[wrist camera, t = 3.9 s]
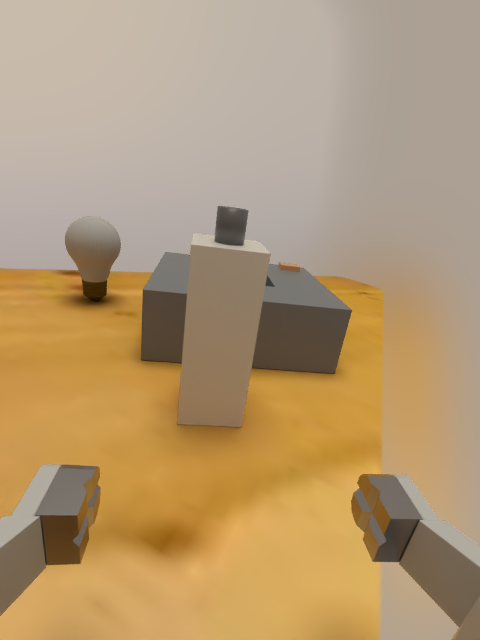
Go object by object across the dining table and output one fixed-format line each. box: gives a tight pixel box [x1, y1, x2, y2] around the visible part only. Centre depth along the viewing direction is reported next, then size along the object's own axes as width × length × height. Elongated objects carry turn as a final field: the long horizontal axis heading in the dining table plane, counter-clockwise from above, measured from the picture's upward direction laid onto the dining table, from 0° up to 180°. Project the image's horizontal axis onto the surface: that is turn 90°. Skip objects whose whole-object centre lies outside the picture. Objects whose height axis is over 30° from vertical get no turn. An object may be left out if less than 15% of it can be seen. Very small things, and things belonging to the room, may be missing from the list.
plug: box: [177, 206, 271, 427], centre depth 22 cm, size 4×4×14 cm
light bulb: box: [65, 216, 121, 301], centre depth 39 cm, size 6×6×10 cm
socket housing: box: [141, 252, 352, 374], centre depth 37 cm, size 18×16×7 cm
